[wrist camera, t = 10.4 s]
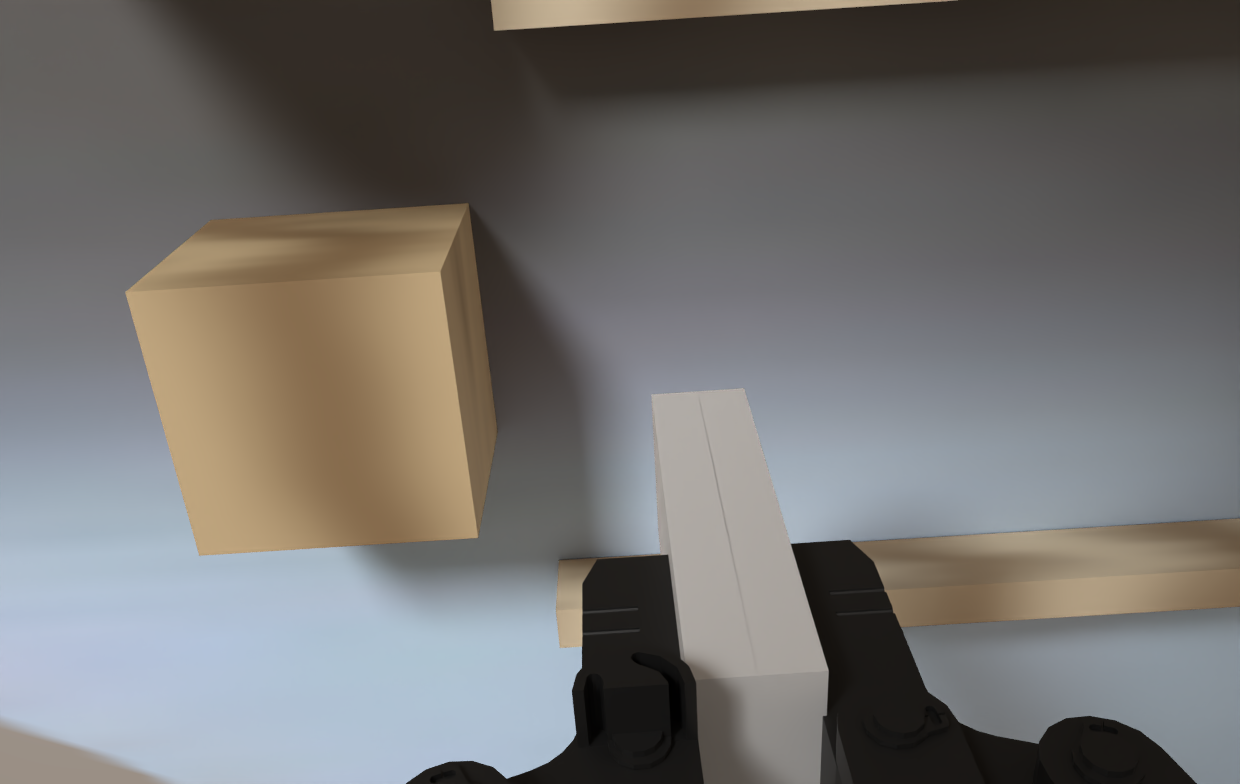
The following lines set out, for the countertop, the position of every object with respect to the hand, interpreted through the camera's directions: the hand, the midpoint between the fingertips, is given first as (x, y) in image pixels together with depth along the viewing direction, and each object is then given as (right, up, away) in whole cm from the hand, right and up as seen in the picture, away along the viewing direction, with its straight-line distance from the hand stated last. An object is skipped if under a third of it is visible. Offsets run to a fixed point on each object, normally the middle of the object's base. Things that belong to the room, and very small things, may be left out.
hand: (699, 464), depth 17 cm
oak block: (-8, +3, +8) cm, 12 cm away
